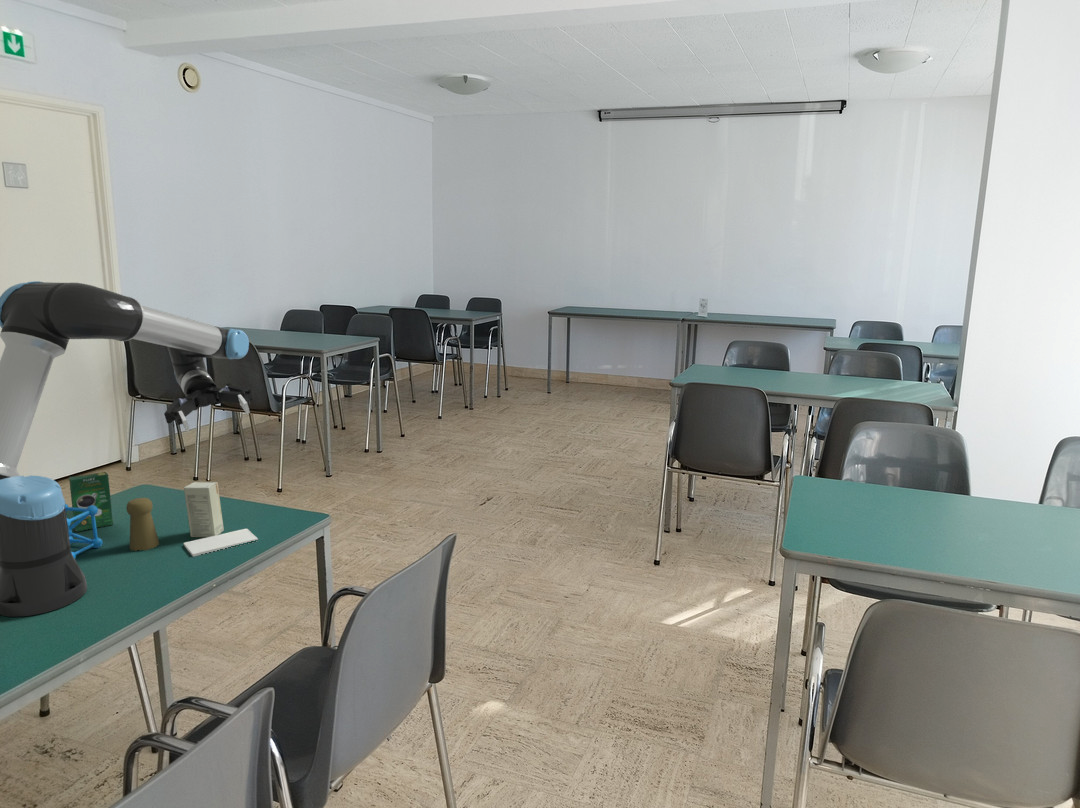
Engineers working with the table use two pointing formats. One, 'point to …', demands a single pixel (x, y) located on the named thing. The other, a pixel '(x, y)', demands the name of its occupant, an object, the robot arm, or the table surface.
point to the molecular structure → (89, 511)
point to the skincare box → (203, 509)
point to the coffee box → (92, 499)
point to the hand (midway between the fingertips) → (217, 417)
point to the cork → (141, 525)
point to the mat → (219, 542)
